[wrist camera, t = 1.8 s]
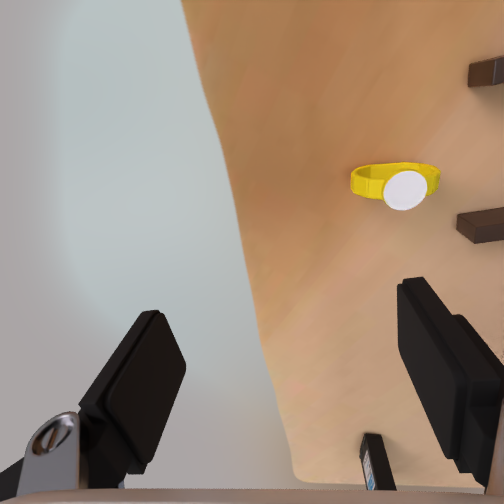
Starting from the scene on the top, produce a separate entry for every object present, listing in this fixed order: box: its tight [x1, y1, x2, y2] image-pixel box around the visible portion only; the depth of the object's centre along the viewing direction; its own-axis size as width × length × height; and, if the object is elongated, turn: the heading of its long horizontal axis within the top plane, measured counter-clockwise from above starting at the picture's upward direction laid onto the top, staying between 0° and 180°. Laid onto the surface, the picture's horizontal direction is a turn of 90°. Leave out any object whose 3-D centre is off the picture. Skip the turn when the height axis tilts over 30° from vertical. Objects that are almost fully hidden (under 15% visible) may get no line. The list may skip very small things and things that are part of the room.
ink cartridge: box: [359, 434, 397, 491], centre depth 38 cm, size 5×2×8 cm, turn 1°
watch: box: [351, 162, 441, 210], centre depth 22 cm, size 6×3×6 cm, turn 96°
